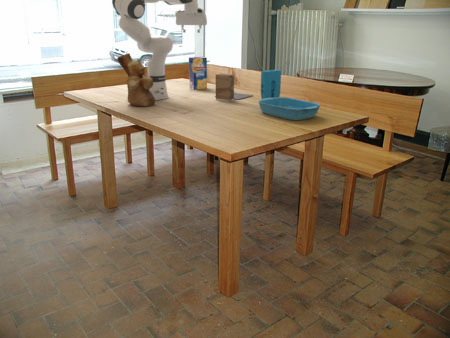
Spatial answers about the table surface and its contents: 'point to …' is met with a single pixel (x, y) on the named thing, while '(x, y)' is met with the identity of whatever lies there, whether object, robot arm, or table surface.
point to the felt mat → (240, 96)
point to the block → (270, 83)
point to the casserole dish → (289, 108)
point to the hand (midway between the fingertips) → (191, 32)
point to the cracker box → (198, 72)
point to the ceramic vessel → (137, 82)
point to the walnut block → (225, 87)
